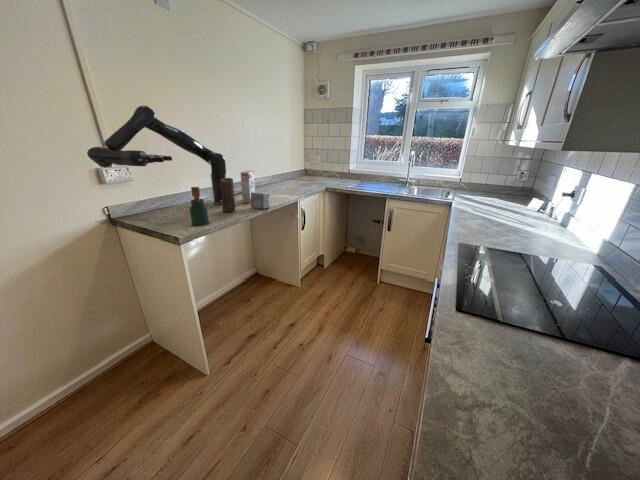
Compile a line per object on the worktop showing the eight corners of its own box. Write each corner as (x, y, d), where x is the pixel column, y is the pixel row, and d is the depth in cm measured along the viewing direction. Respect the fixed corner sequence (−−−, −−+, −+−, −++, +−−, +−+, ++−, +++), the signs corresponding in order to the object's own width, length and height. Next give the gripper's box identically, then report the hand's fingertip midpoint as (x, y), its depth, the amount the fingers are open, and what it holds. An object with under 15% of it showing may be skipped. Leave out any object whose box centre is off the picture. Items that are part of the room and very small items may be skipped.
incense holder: (270, 207, 171) (269, 191, 168) (263, 210, 164) (262, 194, 160) (257, 205, 174) (256, 190, 171) (250, 208, 167) (249, 192, 163)
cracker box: (251, 203, 180) (248, 172, 172) (242, 203, 180) (239, 172, 172) (256, 199, 193) (254, 170, 185) (248, 198, 193) (245, 170, 185)
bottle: (201, 220, 143) (197, 197, 138) (212, 222, 140) (209, 199, 135) (188, 224, 136) (184, 200, 131) (200, 226, 133) (196, 202, 128)
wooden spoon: (197, 221, 138) (192, 186, 132) (204, 221, 139) (199, 186, 132) (195, 222, 136) (190, 187, 129) (202, 222, 136) (197, 187, 129)
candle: (238, 210, 162) (235, 178, 155) (230, 213, 156) (227, 180, 148) (228, 209, 164) (224, 177, 157) (220, 212, 158) (216, 179, 150)
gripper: (123, 151, 122) (158, 152, 122) (141, 149, 135) (173, 150, 136) (127, 167, 124) (161, 168, 125) (144, 164, 138) (175, 165, 138)
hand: (167, 159), depth 130 cm, fingers open, 8 cm apart
